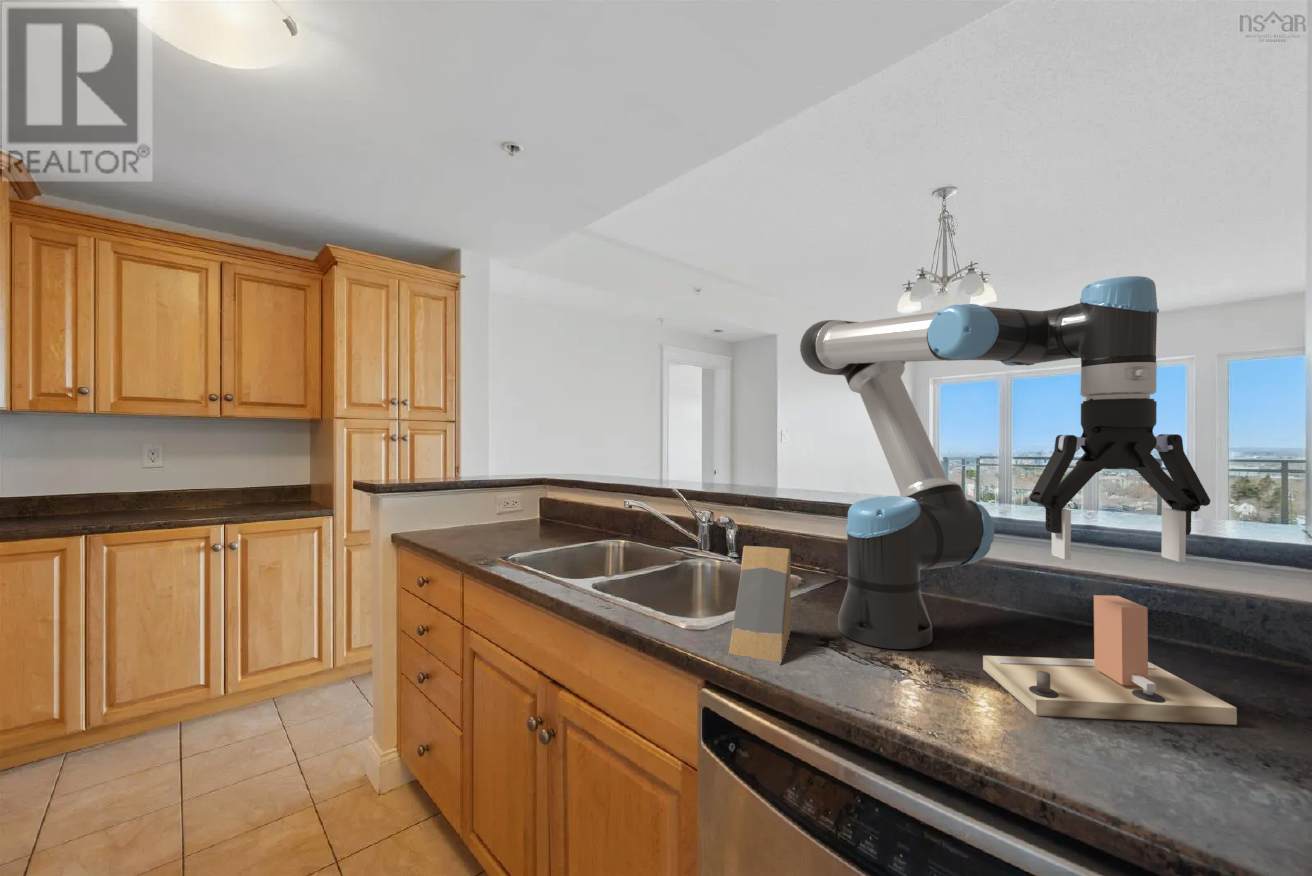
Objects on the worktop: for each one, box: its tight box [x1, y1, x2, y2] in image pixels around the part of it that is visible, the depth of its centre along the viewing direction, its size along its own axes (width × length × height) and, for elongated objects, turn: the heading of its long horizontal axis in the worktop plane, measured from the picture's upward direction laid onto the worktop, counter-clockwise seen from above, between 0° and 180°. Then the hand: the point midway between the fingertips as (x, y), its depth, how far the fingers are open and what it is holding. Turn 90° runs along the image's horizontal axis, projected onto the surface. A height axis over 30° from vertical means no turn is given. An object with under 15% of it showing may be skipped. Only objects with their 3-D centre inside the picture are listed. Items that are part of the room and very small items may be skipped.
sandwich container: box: [728, 545, 792, 661], centre depth 88 cm, size 9×15×15 cm, turn 160°
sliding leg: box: [1093, 594, 1156, 695], centre depth 68 cm, size 3×8×10 cm, turn 173°
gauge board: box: [982, 655, 1238, 726], centre depth 70 cm, size 22×13×4 cm, turn 83°
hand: (1116, 558), depth 70 cm, fingers open, 13 cm apart
